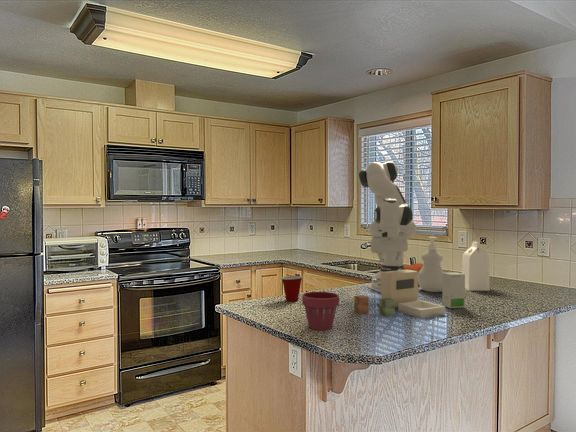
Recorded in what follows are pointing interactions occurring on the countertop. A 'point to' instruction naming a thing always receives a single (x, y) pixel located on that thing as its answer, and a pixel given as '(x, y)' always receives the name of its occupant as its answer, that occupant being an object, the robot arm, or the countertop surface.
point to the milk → (476, 268)
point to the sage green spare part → (386, 307)
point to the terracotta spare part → (361, 304)
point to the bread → (414, 267)
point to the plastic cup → (292, 287)
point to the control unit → (399, 286)
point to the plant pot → (320, 309)
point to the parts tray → (421, 309)
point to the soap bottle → (431, 270)
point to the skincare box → (453, 290)
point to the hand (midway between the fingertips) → (389, 261)
